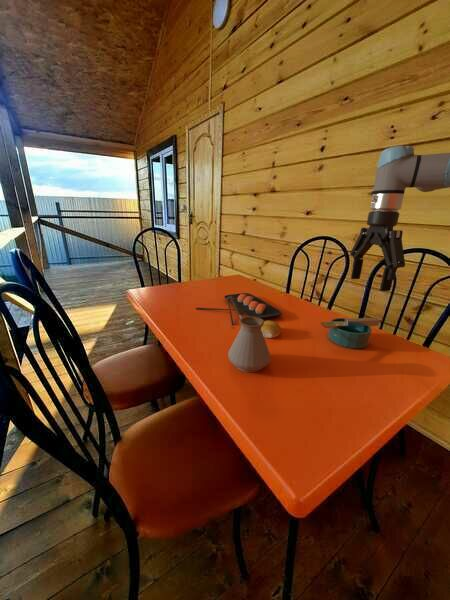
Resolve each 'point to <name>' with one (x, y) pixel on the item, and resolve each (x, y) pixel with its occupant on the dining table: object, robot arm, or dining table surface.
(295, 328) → the dining table surface
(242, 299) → the sushi plate
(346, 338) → the bowl
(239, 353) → the coffee pot
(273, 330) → the bread roll
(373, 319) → the fork
